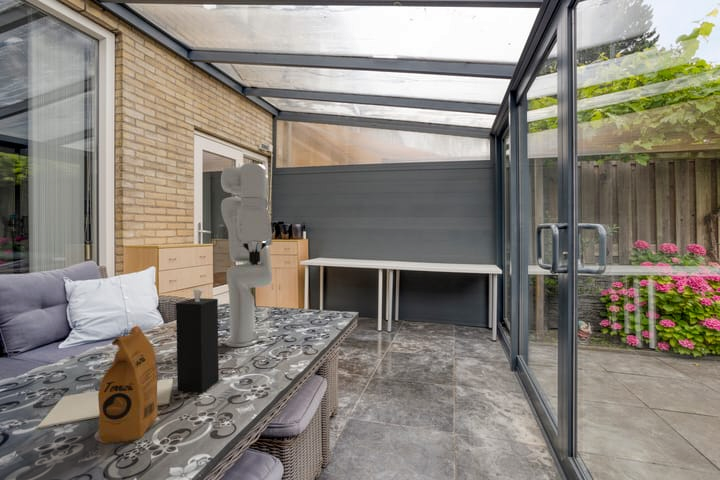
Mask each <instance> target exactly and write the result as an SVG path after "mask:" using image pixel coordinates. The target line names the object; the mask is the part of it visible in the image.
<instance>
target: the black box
mask: <svg viewBox="0 0 720 480" xmlns="http://www.w3.org/2000/svg"><path fill="white" fill-rule="evenodd" d="M192 290H193V291H192V293H193V296H194V298H190V299H188V300H187V299H186V300H183V301H180V302H176V303H175V311H176V312H175V315H176V323H175V324H176V367H177V368H176V369H177V370H176V373H177V374H176V375H177V377H176V378H177V385H176V386H177V391H181V392H189V393H190V392H192V393H201V394H202V393H203V392H206V391H207V390H208V389H209V388H211V387H213V385H215V384H217V383H218V382H219V381H220V380H219V379H220V377H219V375H220V373H219V372H220V371H219V370H220V368H219V365H220V364H219V316H218V314H219V310H218V309H219V308H218V307H219V302H218V300H219V299H218V298H205V297H203V298H201V296H202V293H203V292H204V291H203V290H200V289H192Z"/></svg>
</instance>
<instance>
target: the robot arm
mask: <svg viewBox="0 0 720 480" xmlns="http://www.w3.org/2000/svg"><path fill="white" fill-rule="evenodd" d="M220 185H221V188H222V190H223V191H224V192H225V193H228V194H232V195H234V196H230V197H226V198H224V199H222V201H221V204H220V210H221V211H220V212H221V216H222V219H223V221H224V224H225V226H226V229H227V233H228V251H229V258H230V261H232V262H234V263H239V264H235V265H232V266H229V267H228V269H227V270H226V281H227V287H228V299H229V301H228V302H229V304H228V305H229V337H228V338H227V339H226V340H225V346H227V347H230V348H243V347H249V346H253V345H255V344H257V343H259V341H260V340H259V339H260V338H259V337H265V336H267V332H268V331H267V330H262V329H261V330H256V328H255V323H256V322H255V297H254V295H253V294H252V293H251V292H250V291H249V290H248V289H251V288H262V287H263V288H264V287H268V286H270V285H271V283H272V281H273V274H272V273H273V271H272V261H271V252H270V246H271V245H273V240H272V238H273V237H272V235H273V234H272V233H273V231H272V222H271V214H270V210H269V209H267V208H268V207H272V201H268V199H269V177H268V174H267V168H266V167H265V165H263V164H261V163H254V162H253V163H252V162H249V163H244V164H242V165H241V167H239V166H226V167H224V168H223V170H222V171H221V176H220ZM240 263H241V264H240ZM243 263H246V264H243ZM247 263H248V264H247Z"/></svg>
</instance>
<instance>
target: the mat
mask: <svg viewBox="0 0 720 480" xmlns="http://www.w3.org/2000/svg"><path fill="white" fill-rule="evenodd" d="M173 382H174V378H167V379H160V380H157V407H159V406H165V405H169V404H170V399H171V394H172V389H173V388H172V387H173ZM98 393H99V390H94V391H87V392H82V393H76V394H69V395H63V396H62V397H61V398H60V399H59V401H58V402H57V403H56V404H55V405H54V406H53V408H52V409H51V410H50V411H49V413H47V415H46V416H45V417H44V418H43V419H42V421H41V422H40V423H39V424H38V425H37V430H40V429H44V428H49V427H55V426H54V425H56V426H60V425H59V424H61V425H66V424H70V423H76V422H81V421H86V420H91V419H97V418H99V401H98ZM39 428H40V429H39Z"/></svg>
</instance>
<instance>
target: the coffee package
mask: <svg viewBox="0 0 720 480" xmlns="http://www.w3.org/2000/svg"><path fill="white" fill-rule="evenodd" d="M111 344H112V345H113V346H117V347H118V350H117V351H116V353H115V357H114V358H113V362H112V364H111V365H110V367H108V369H107V370H106V372H105V373H104V375H103V377H102V378H101V382H100V385H99V390H98V391H99V393H98V401H99V417H98V421H99V423H98V439H99V440H100V441H101V443H102V444H109V443H121V442H131V441H136V440H139V439H141V438H142V437H143V435H144V434H145V433H146V431H147V429H148V428H149V427H152V426H153V425H154V424H155V423H156V419H157V417H158V414H159V411H158V406H157V381H159V380H158V370H157V369H158V368H157V360H156V354H155V350H154V348H153V346H152V344H151V341H149V340H148V338H147V336H146V335H145V333H144V332H143V331H142V329H141V327H140V326H139V325H136V326H134V327H132V328H131V329H130V331H129V334H126V335H124V336H123V335H122V336H120V337H116V338H115V339H114V340H113V341H112V342H111Z"/></svg>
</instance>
